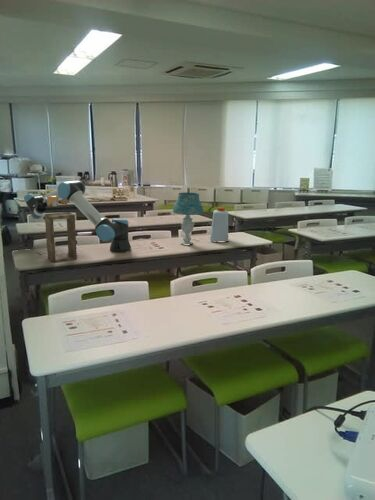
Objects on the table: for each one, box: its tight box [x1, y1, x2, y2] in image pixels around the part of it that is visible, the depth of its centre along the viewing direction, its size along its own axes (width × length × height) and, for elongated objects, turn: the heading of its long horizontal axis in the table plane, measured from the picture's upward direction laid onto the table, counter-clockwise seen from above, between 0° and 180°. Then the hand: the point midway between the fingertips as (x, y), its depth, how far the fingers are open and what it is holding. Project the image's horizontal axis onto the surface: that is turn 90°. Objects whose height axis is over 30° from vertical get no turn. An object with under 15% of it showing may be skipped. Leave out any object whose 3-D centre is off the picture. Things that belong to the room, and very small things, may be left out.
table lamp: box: [172, 192, 204, 245], centre depth 288 cm, size 24×24×40 cm
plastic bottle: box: [209, 206, 229, 242], centre depth 304 cm, size 15×15×28 cm
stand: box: [44, 211, 78, 263], centre depth 241 cm, size 16×10×30 cm, turn 127°
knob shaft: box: [42, 196, 59, 207], centre depth 250 cm, size 7×22×6 cm, turn 37°
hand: (48, 197), depth 252 cm, fingers closed on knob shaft, 3 cm apart
